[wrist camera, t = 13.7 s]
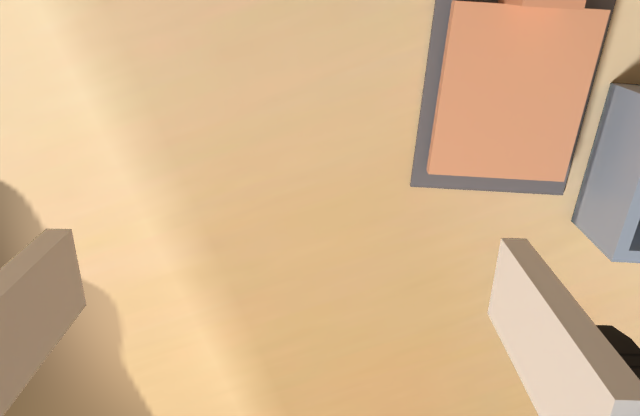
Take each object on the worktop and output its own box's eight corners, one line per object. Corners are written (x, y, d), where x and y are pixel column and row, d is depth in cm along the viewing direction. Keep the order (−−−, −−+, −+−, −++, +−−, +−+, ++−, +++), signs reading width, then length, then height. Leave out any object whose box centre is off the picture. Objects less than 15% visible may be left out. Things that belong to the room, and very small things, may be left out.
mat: (440, -35, 37) (441, -35, 36) (620, -24, 37) (622, -24, 36) (410, 185, 44) (410, 186, 43) (561, 193, 44) (562, 195, 43)
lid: (461, -79, 35) (481, -87, 30) (619, -69, 35) (664, -76, 31) (425, 167, 43) (436, 190, 38) (555, 175, 43) (583, 199, 38)
